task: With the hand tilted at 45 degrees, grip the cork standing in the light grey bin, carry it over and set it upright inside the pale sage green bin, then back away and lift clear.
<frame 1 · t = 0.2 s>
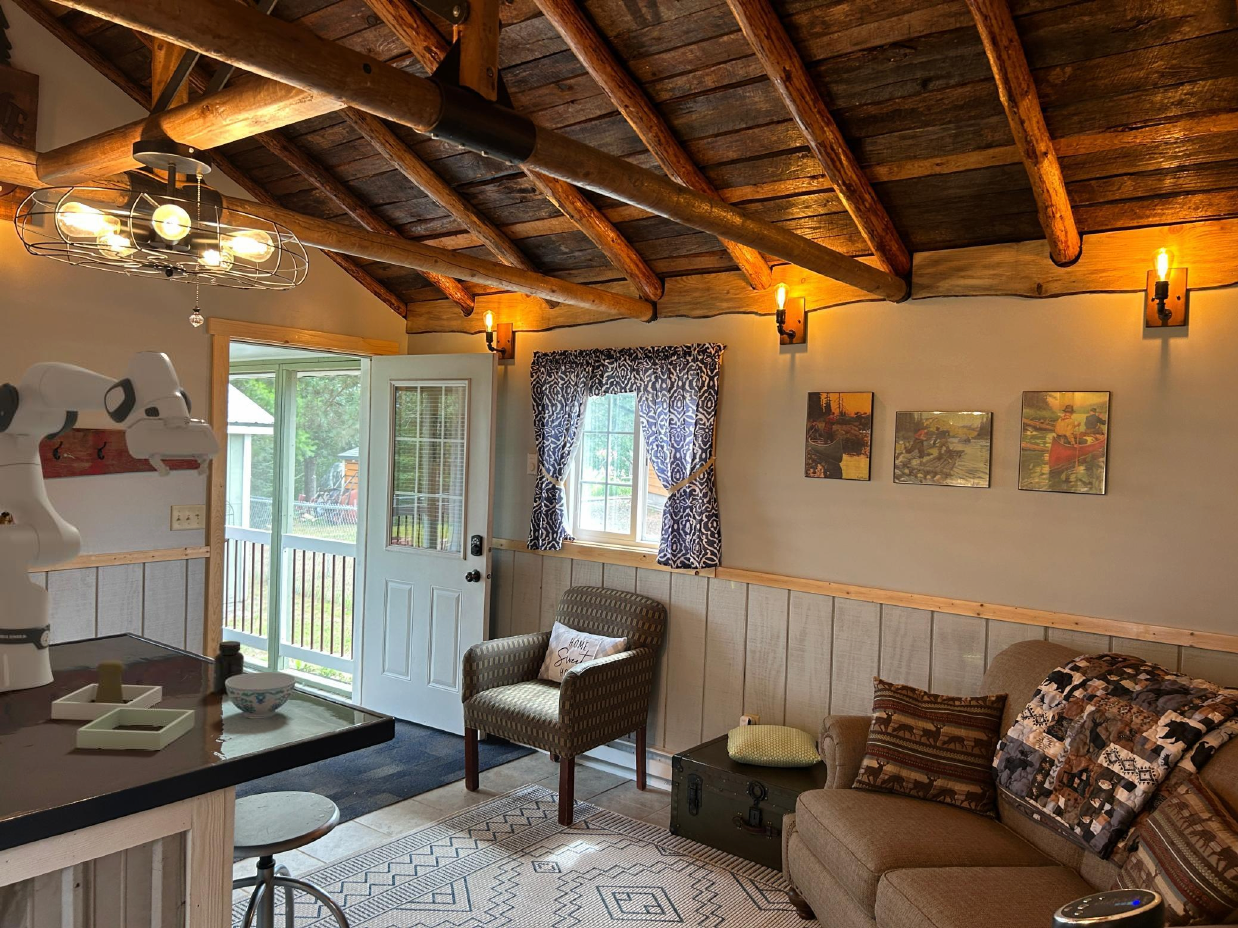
hand: (185, 475, 195), 54 cm above the counter, tool tilted 30°, fingers open, 8 cm apart
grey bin: (108, 709, 203), on the counter
chinaware: (259, 714, 205), on the counter
cork: (108, 710, 203), resting in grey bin
sage bin: (137, 736, 186), on the counter
supplement bottle: (227, 691, 223), on the counter
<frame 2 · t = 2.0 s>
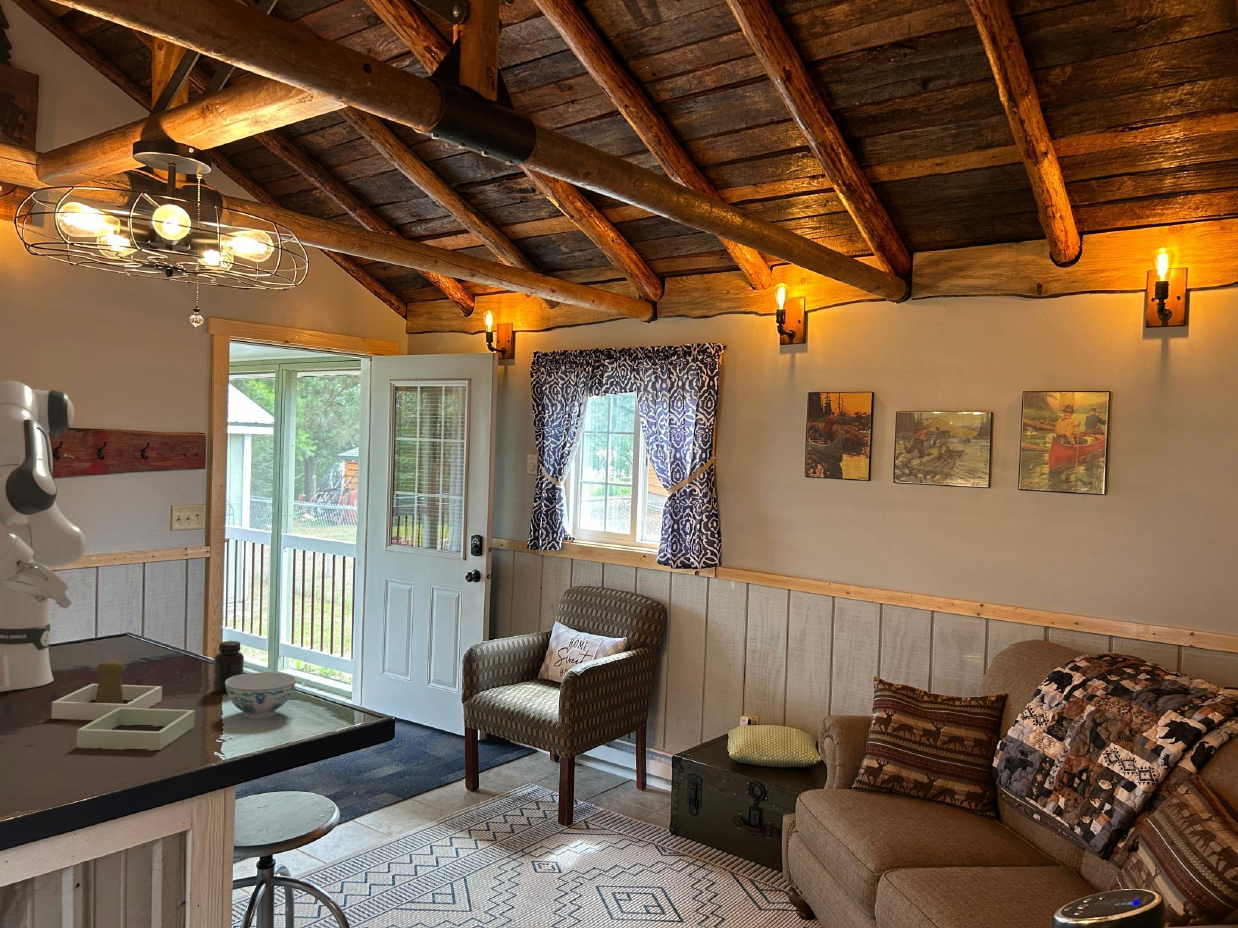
hand: (55, 602, 192), 25 cm above the counter, tool tilted 45°, fingers open, 8 cm apart
nothing on the counter moved.
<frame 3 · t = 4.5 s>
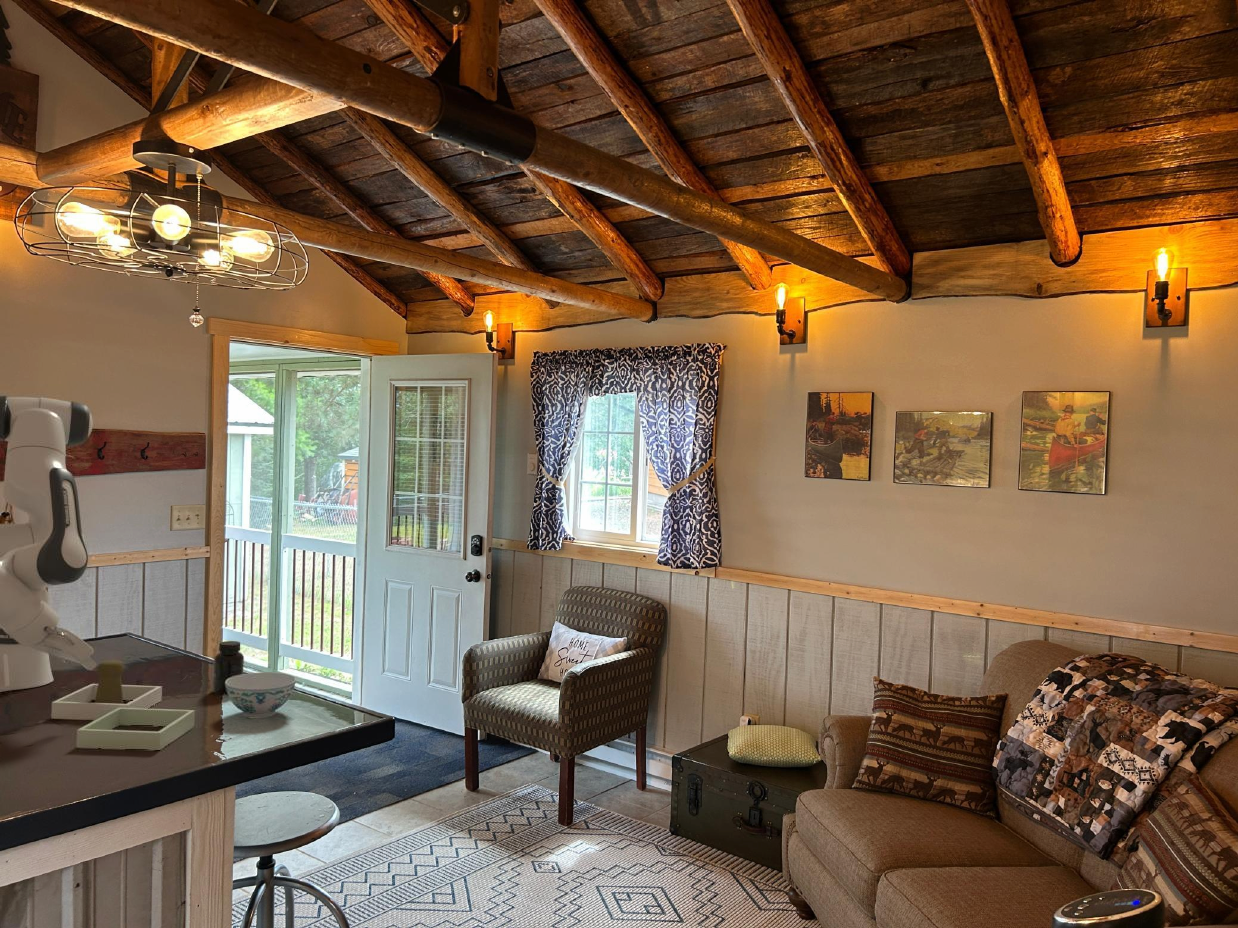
hand: (81, 663, 197), 11 cm above the counter, tool tilted 45°, fingers open, 8 cm apart
nothing on the counter moved.
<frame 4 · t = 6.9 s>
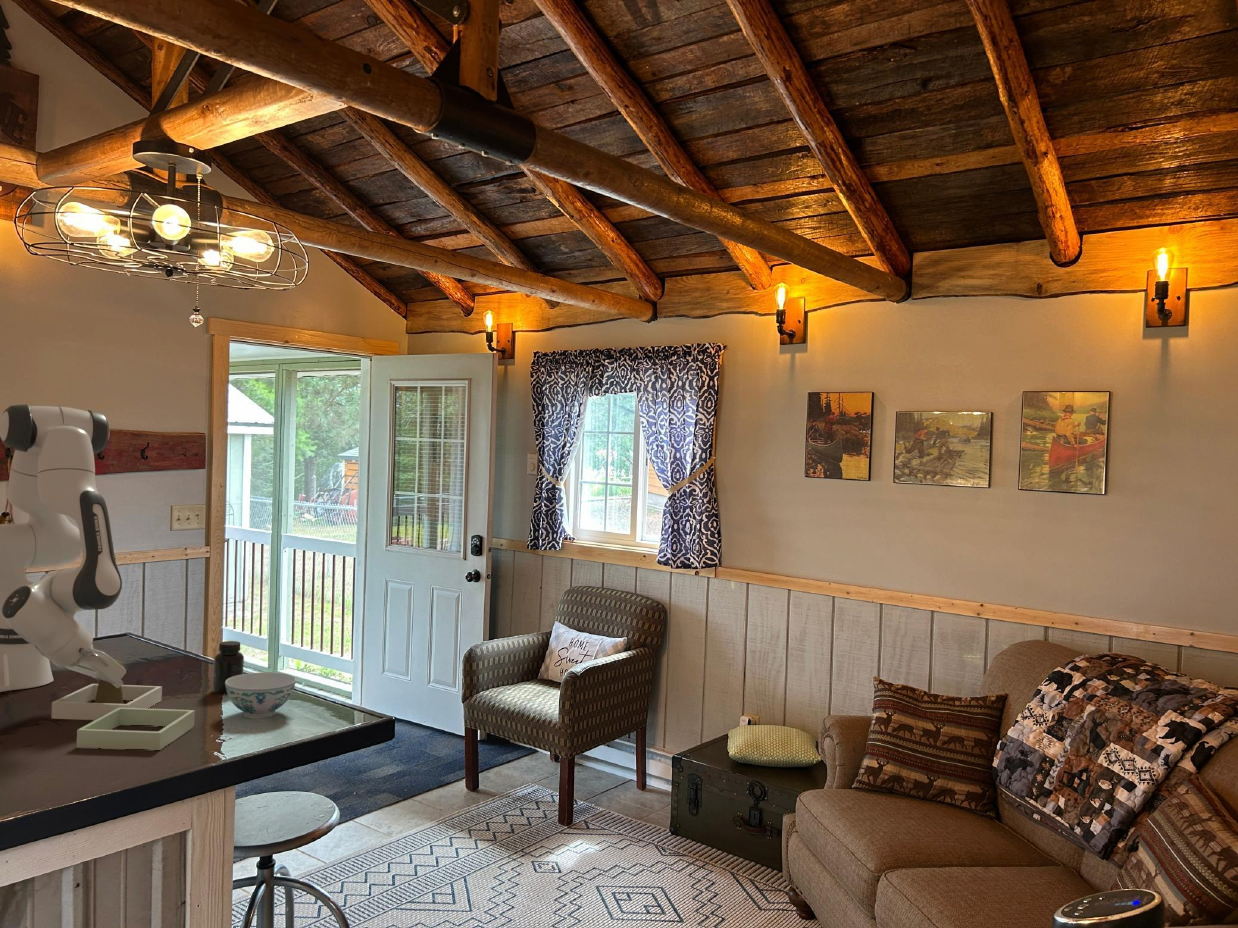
hand: (112, 682, 203), 6 cm above the counter, tool tilted 45°, fingers closed on cork, 4 cm apart
cork: (108, 710, 203), resting in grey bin, touching gripper
everything else where it was.
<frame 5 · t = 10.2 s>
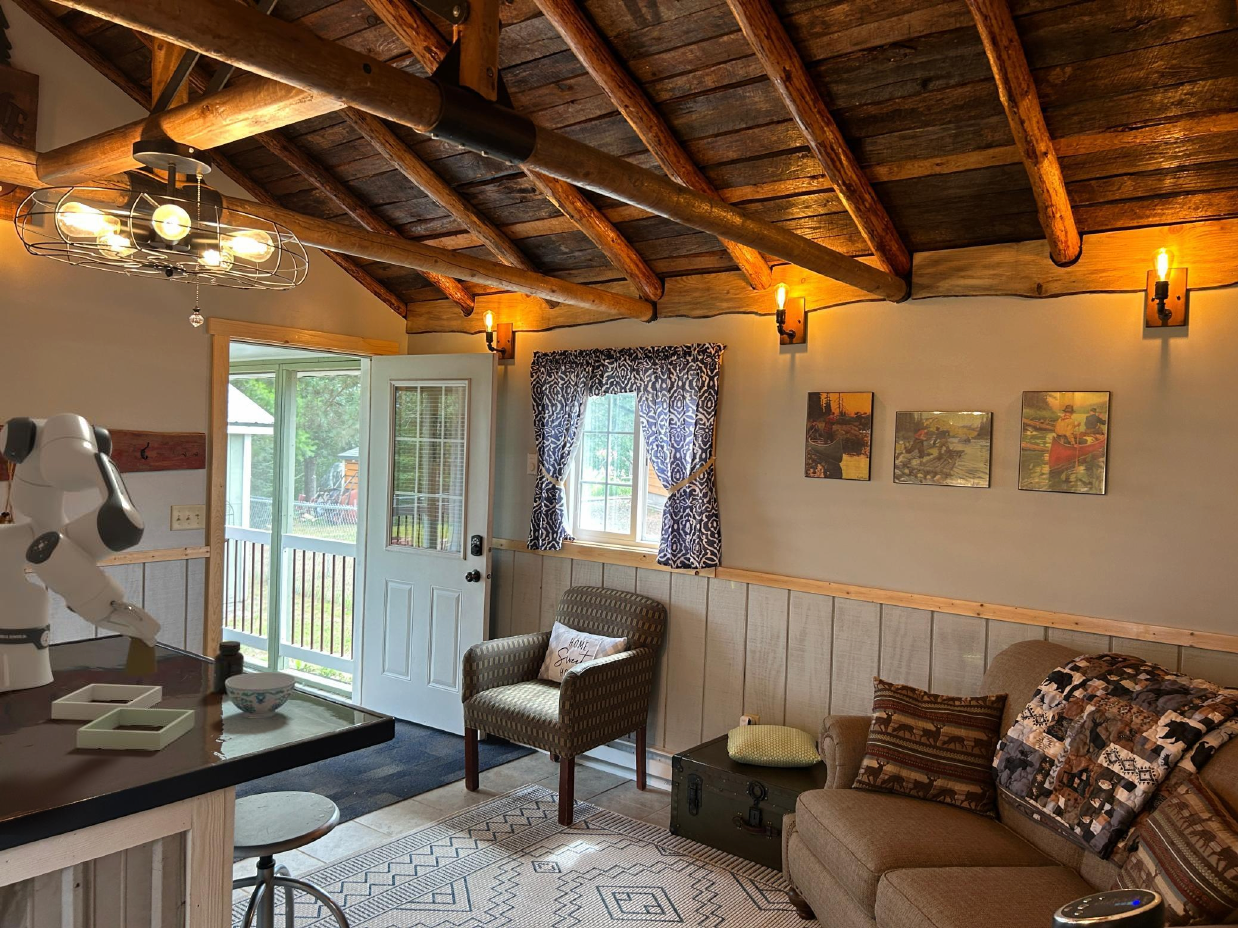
hand: (145, 641, 186), 19 cm above the counter, tool tilted 45°, fingers closed on cork, 4 cm apart
cork: (140, 673, 185), point 13 cm above the counter, touching gripper
everything else where it was.
when the fingers open (7 cm above the counter, at t = 13.5 s): cork moves 1 cm, resting in sage bin.
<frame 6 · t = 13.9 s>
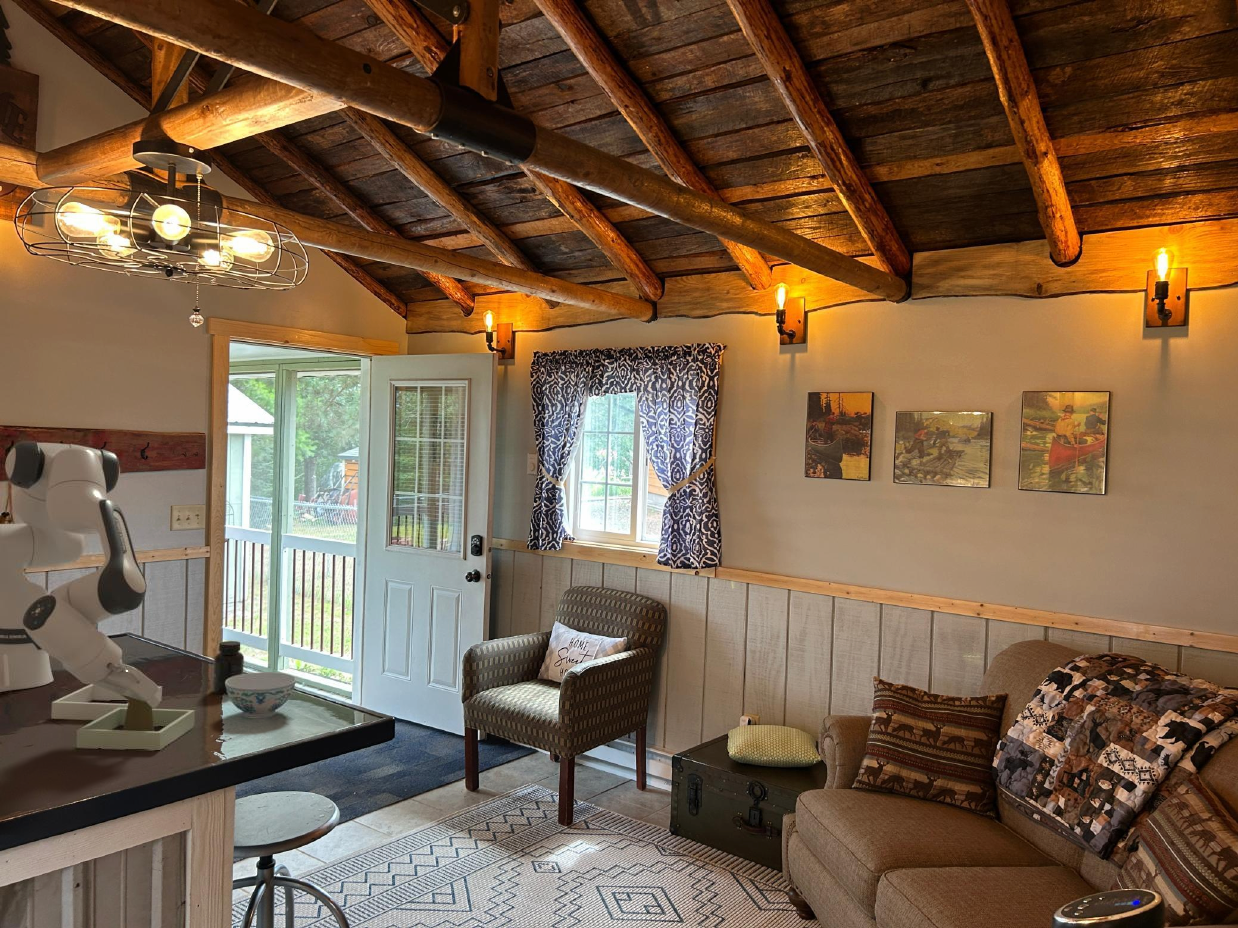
hand: (142, 700, 186), 7 cm above the counter, tool tilted 45°, fingers open, 8 cm apart
cork: (137, 737, 185), resting in sage bin
everything else where it was.
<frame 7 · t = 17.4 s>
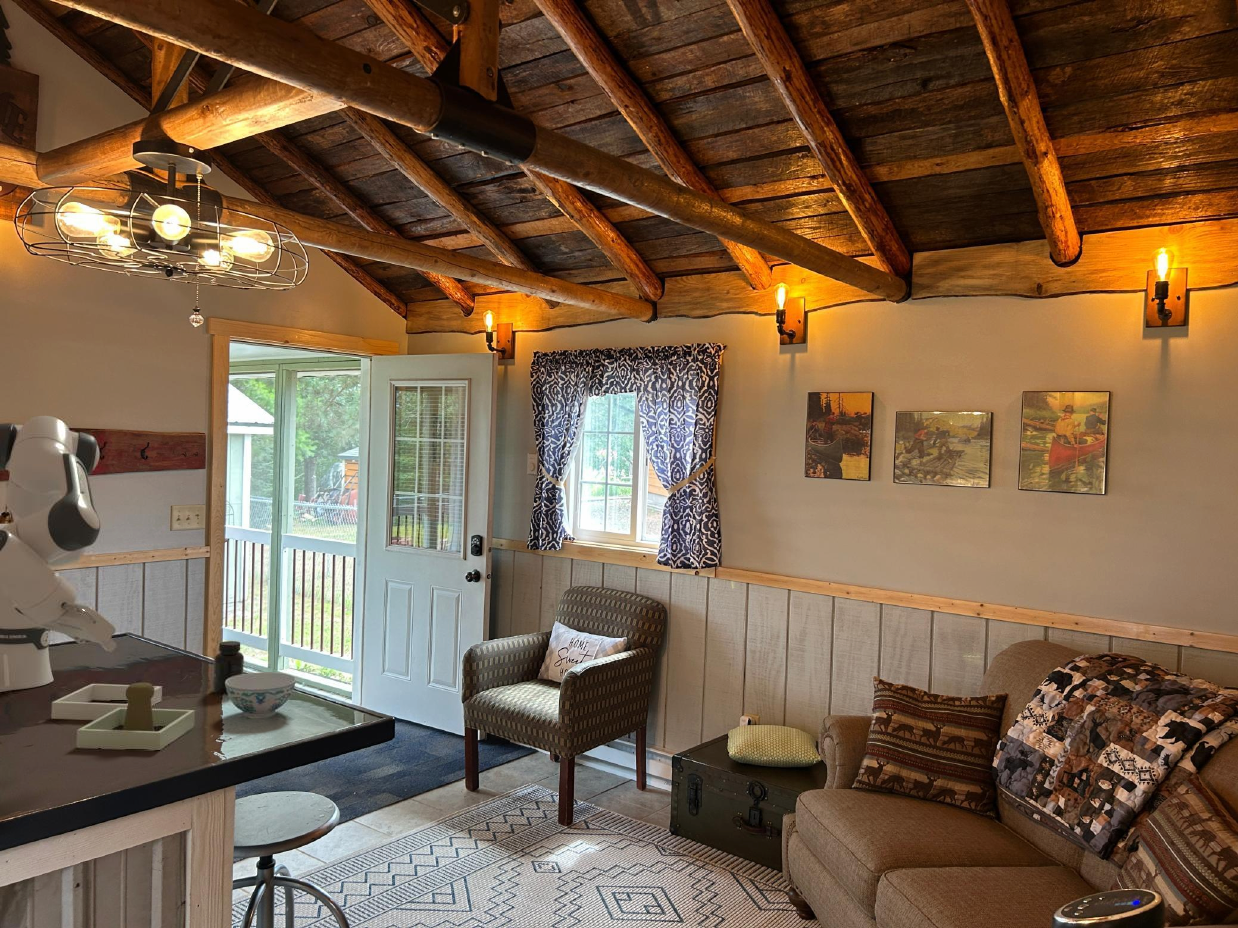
hand: (98, 644, 179), 20 cm above the counter, tool tilted 45°, fingers open, 8 cm apart
nothing on the counter moved.
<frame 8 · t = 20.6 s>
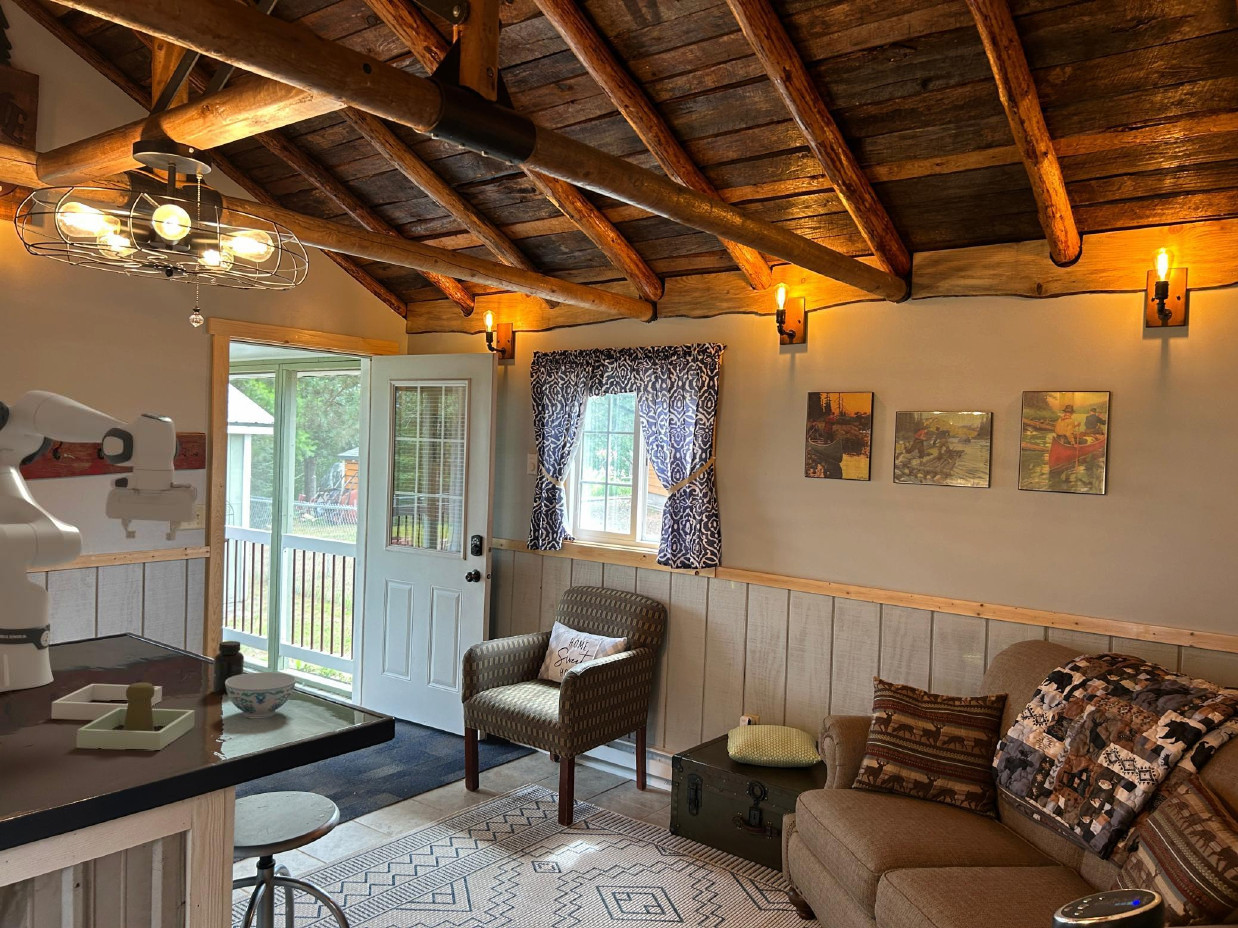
hand: (150, 539, 217), 37 cm above the counter, tool pointing down, fingers open, 8 cm apart
nothing on the counter moved.
at the end: cork inside the target area on the sage bin (0.2 cm from its centre), point 0.0 cm above the sage bin's base; cork tilted 0°; the gripper is holding nothing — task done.
